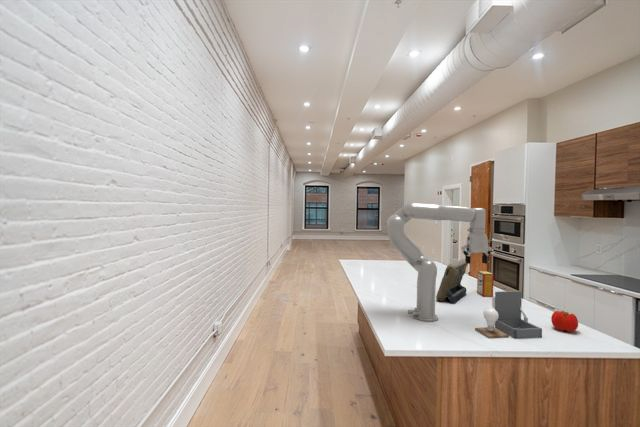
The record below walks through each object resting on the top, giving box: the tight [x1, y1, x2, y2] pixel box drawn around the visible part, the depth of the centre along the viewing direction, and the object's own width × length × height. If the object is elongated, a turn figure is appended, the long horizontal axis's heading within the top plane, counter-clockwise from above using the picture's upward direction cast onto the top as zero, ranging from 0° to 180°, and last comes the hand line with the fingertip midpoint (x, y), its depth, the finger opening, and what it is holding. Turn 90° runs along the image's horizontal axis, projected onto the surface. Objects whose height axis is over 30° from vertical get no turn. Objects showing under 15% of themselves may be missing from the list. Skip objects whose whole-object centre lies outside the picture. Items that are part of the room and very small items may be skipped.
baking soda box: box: [476, 270, 495, 298], centre depth 217 cm, size 10×6×16 cm
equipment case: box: [494, 290, 543, 339], centre depth 151 cm, size 14×14×18 cm
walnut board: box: [474, 326, 509, 339], centre depth 149 cm, size 10×10×1 cm
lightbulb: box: [483, 307, 499, 332], centre depth 149 cm, size 6×6×11 cm
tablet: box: [435, 258, 468, 305], centre depth 209 cm, size 33×14×25 cm, turn 146°
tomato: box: [550, 310, 579, 333], centre depth 155 cm, size 11×11×9 cm
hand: (476, 263), depth 167 cm, fingers open, 9 cm apart
